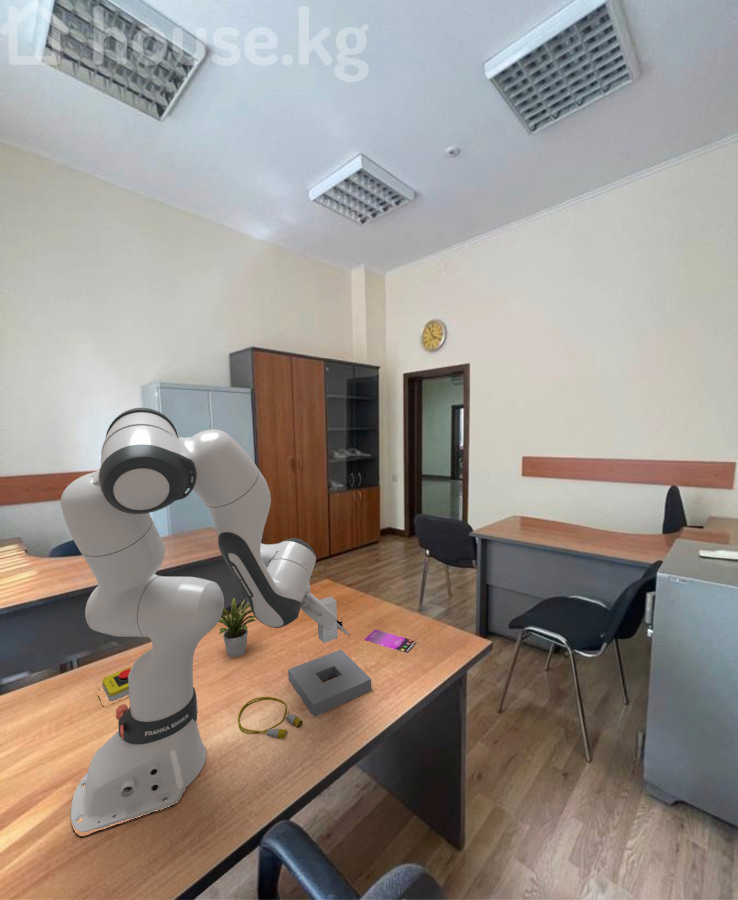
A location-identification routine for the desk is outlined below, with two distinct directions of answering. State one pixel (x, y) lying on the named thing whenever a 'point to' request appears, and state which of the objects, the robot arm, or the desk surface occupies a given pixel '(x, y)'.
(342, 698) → the block
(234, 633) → the house plant
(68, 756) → the desk surface
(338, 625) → the toy airplane
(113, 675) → the emergency button
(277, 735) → the extension cord
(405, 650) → the smartphone
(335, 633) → the grey square post
